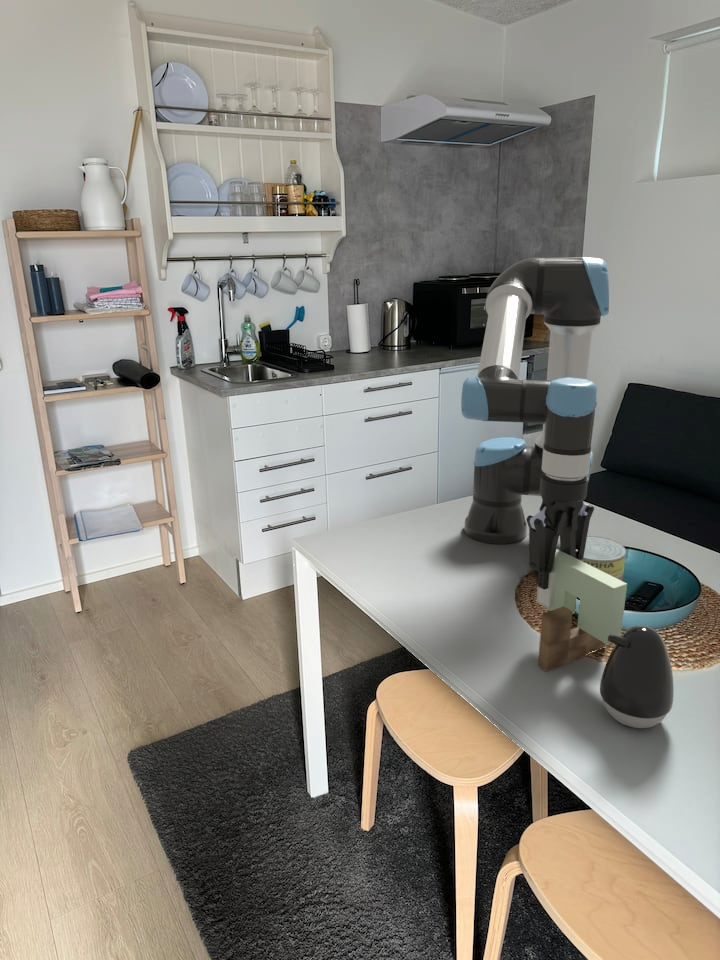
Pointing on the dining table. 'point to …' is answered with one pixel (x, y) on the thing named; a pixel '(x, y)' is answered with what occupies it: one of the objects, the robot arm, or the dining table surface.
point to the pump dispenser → (638, 678)
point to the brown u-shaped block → (563, 640)
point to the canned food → (605, 555)
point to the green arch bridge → (588, 596)
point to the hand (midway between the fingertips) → (553, 600)
